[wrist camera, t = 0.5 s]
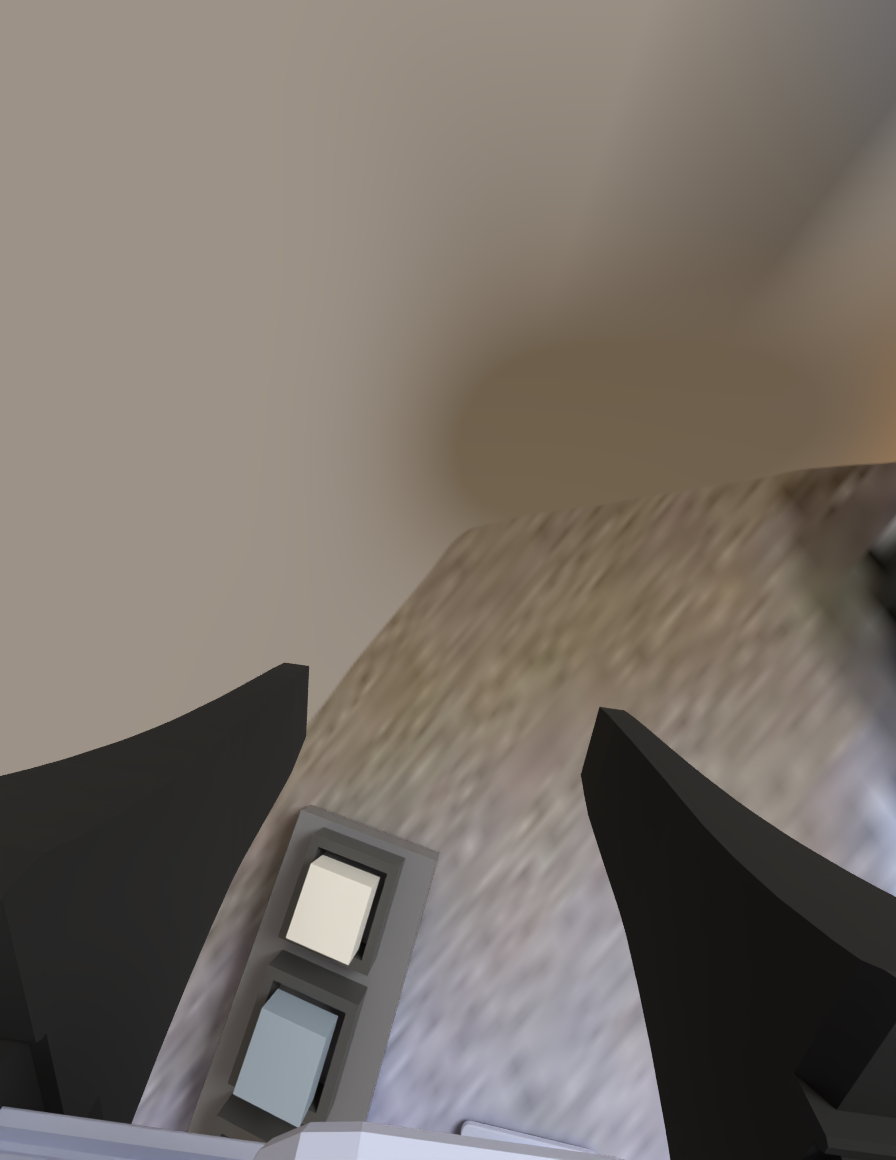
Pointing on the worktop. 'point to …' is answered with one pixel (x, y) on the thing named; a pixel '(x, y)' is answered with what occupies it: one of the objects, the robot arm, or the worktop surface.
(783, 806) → the worktop surface
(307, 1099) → the slate blue key
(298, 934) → the off-white key
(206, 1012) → the worktop surface
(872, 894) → the robot arm
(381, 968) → the key panel
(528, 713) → the worktop surface
